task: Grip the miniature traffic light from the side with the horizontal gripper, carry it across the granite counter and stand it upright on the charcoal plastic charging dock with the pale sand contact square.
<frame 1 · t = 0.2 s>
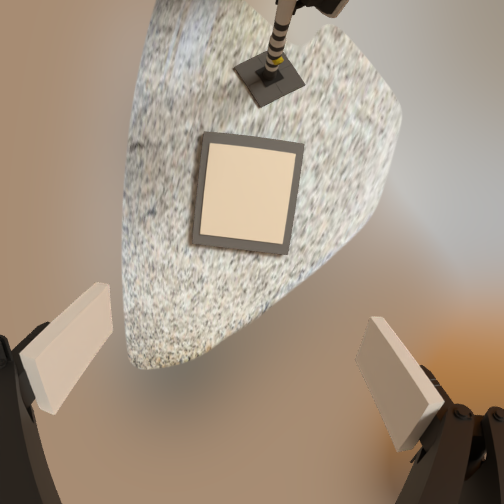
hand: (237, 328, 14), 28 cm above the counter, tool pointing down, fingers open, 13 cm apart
charging dock: (247, 192, 40), on the counter
miniature traffic light: (270, 73, 35), on the counter
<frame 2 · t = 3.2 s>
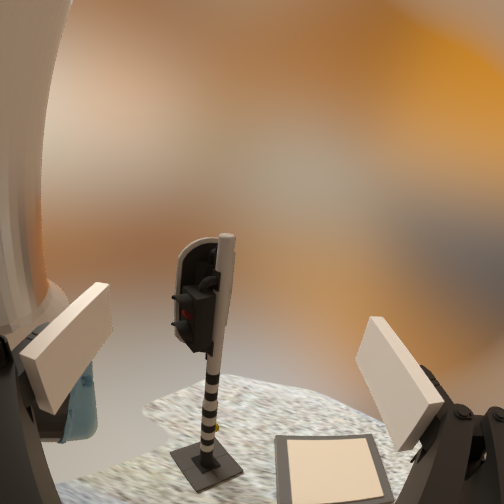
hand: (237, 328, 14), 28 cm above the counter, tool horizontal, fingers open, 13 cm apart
charging dock: (330, 474, 31), on the counter
miniature traffic light: (202, 463, 31), on the counter
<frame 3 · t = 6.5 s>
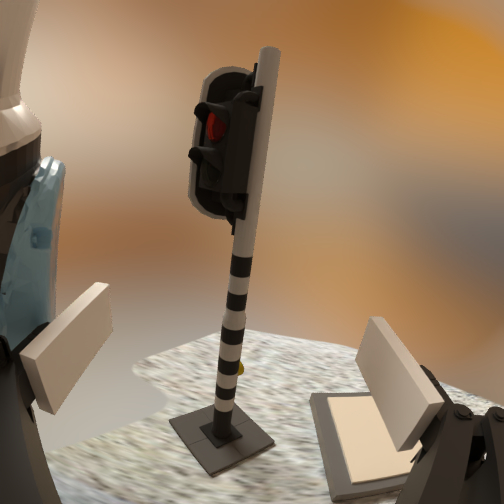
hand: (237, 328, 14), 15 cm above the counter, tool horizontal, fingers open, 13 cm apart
charging dock: (388, 439, 23), on the counter
miniature traffic light: (216, 434, 23), on the counter
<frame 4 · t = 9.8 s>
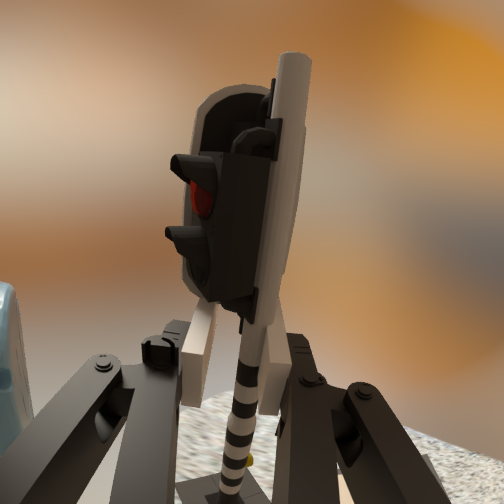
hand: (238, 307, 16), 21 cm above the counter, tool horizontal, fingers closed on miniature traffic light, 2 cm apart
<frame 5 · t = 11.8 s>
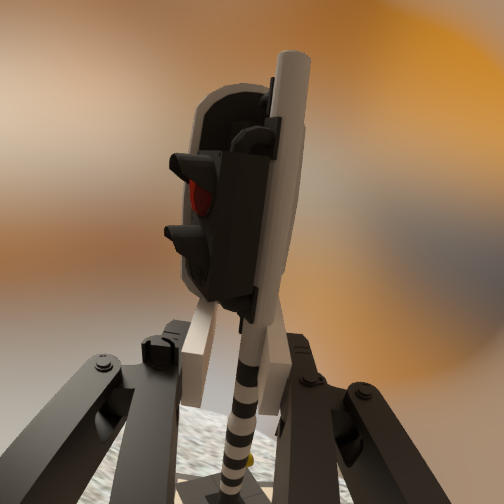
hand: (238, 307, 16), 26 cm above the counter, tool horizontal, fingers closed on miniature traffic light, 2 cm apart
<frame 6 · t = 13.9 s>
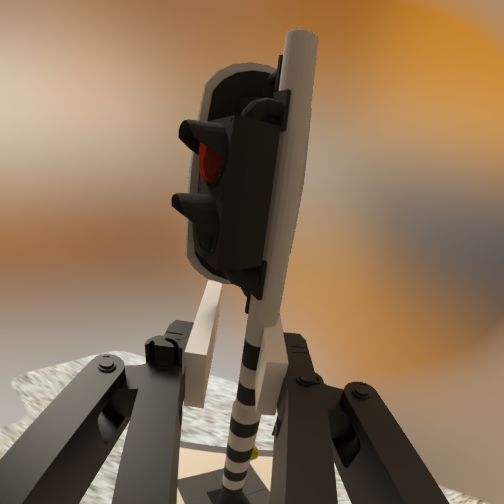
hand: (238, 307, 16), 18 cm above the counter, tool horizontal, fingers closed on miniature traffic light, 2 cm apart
miniature traffic light: (224, 501, 18), point 1 cm above the counter, touching charging dock, gripper
when the fingers open (18 cm above the counter, at t = 14.0 s): miniature traffic light stays where it is, resting on charging dock.
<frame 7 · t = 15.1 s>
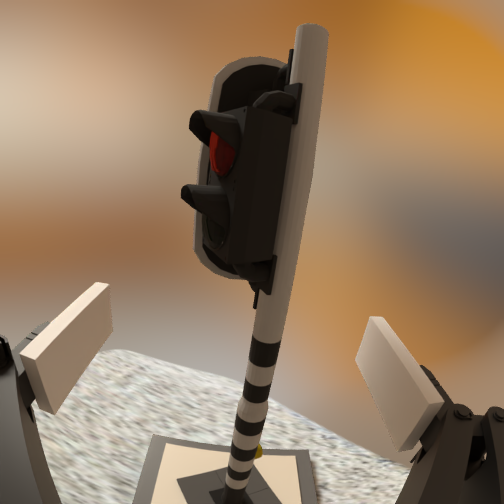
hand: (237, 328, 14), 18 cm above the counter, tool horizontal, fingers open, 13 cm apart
miniature traffic light: (226, 500, 18), point 1 cm above the counter, touching charging dock
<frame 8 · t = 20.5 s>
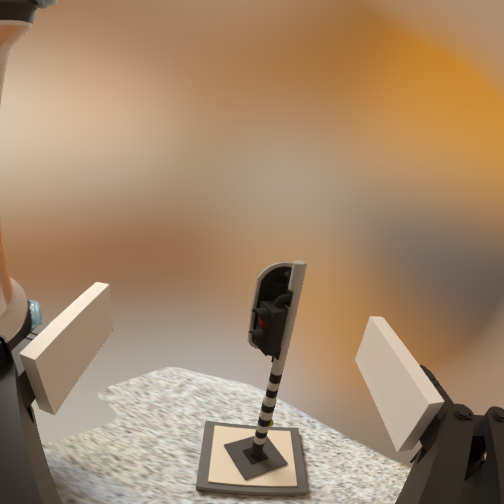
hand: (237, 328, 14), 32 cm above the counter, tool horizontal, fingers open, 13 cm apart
charging dock: (251, 460, 36), on the counter
miniature traffic light: (252, 455, 36), point 1 cm above the counter, touching charging dock
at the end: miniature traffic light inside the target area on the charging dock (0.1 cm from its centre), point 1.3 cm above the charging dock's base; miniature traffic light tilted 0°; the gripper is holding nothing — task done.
